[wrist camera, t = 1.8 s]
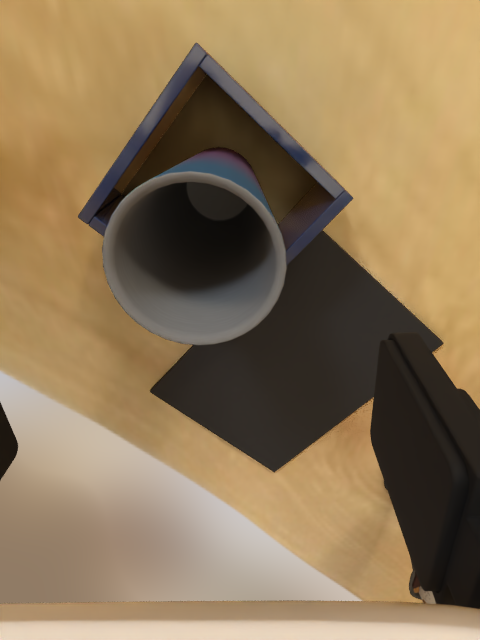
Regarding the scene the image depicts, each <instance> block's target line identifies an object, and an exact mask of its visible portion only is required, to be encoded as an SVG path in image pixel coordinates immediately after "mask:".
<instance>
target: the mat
mask: <svg viewBox="0 0 480 640" xmlns="http://www.w3.org/2000/svg"><path fill="white" fill-rule="evenodd" d="M409 332H417V333H418V334H419V335H420V336H421V338H422V339H423V341H424V342H425V344H426V345H427V346H428V348H429V349H430V351H431V352H433V351H435V350H436V349H437V348H438V347H440V346H441V345H442V344H443V342H442V341H441V340H440V339H439V338H438V337H437V336H436V335H435V334H434V333H433V332H431V331H430V330H429V329H428V328H427V327H426V326H425V325H424V324H423V323H422V322H421V321H420V320H419V319H417V318H416V317H415V316H414V315H413V314H412V313H411V312H410V311H409V310H408V309H407V308H406V307H405V306H403V305H402V304H401V303H400V302H399V301H398V300H397V299H396V298H395V297H394V296H393V295H392V294H391V293H389V292H388V291H387V290H386V289H385V288H384V287H383V286H382V285H381V284H380V283H379V282H378V281H377V280H375V279H374V278H373V277H372V276H371V275H370V274H369V273H368V272H367V271H366V270H365V269H364V268H362V267H361V266H360V265H359V264H358V263H357V262H356V261H355V260H354V259H353V258H352V257H351V256H350V255H348V254H347V253H346V252H345V251H344V250H343V249H342V248H341V247H340V246H339V245H338V244H337V243H336V242H334V241H333V240H332V239H331V238H330V237H329V236H328V235H327V234H326V233H325V232H324V231H323V230H322V231H321V232H320V233H319V234H318V235H317V236H316V237H315V238H314V239H313V240H312V241H311V242H310V243H309V244H308V245H307V246H306V247H305V248H304V249H303V250H302V251H301V252H300V253H299V254H298V255H297V256H296V257H295V258H294V259H293V260H292V261H291V262H290V263H289V264H288V265H287V269H286V275H285V281H284V286H283V288H282V291H281V293H280V296H279V298H278V301H277V302H276V304H275V305H274V307H273V308H272V310H271V311H270V313H269V314H268V315H267V316H266V317H265V318H264V319H263V320H262V321H261V322H260V323H259V324H258V325H257V326H255V327H254V328H253V329H251V330H250V331H248V332H247V333H245V334H243V335H241V336H239V337H237V338H234V339H232V340H229V341H225V342H221V343H217V344H209V345H193V346H192V347H191V348H190V349H189V350H188V351H187V352H186V353H185V354H184V355H183V356H182V357H181V358H180V360H179V361H178V362H177V363H176V364H175V365H174V366H173V367H172V368H171V369H170V370H169V371H168V372H167V373H166V374H165V375H164V376H163V377H162V378H161V379H160V380H159V381H158V382H157V383H156V384H155V385H154V386H153V387H152V389H151V390H150V392H151V393H152V394H154V395H155V396H157V397H158V398H160V399H162V400H163V401H165V402H166V403H168V404H169V405H171V406H172V407H174V408H176V409H177V410H179V411H180V412H182V413H183V414H185V415H186V416H188V417H189V418H191V419H193V420H194V421H196V422H197V423H199V424H200V425H202V426H203V427H205V428H207V429H208V430H210V431H211V432H213V433H214V434H216V435H217V436H219V437H220V438H222V439H224V440H225V441H227V442H228V443H230V444H231V445H233V446H234V447H236V448H238V449H239V450H241V451H242V452H244V453H245V454H247V455H248V456H250V457H251V458H253V459H255V460H256V461H258V462H259V463H261V464H262V465H264V466H265V467H267V468H269V469H270V470H272V471H273V472H275V471H277V470H278V469H279V468H281V467H282V466H283V465H285V464H286V463H287V462H288V461H290V460H291V459H292V458H294V457H295V456H296V455H298V454H299V453H300V452H302V451H303V450H304V449H306V448H307V447H308V446H310V445H311V444H312V443H313V442H315V441H316V440H317V439H319V438H320V437H321V436H323V435H324V434H325V433H327V432H328V431H329V430H331V429H332V428H333V427H335V426H336V425H337V424H338V423H340V422H341V421H342V420H344V419H345V418H346V417H348V416H349V415H350V414H352V413H353V412H354V411H356V410H357V409H358V408H360V407H361V406H362V405H363V404H365V403H366V402H367V401H369V400H370V399H371V398H373V397H374V392H375V382H376V373H377V364H378V354H379V346H380V342H381V341H382V340H388V337H389V335H390V334H391V333H409Z"/></svg>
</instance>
